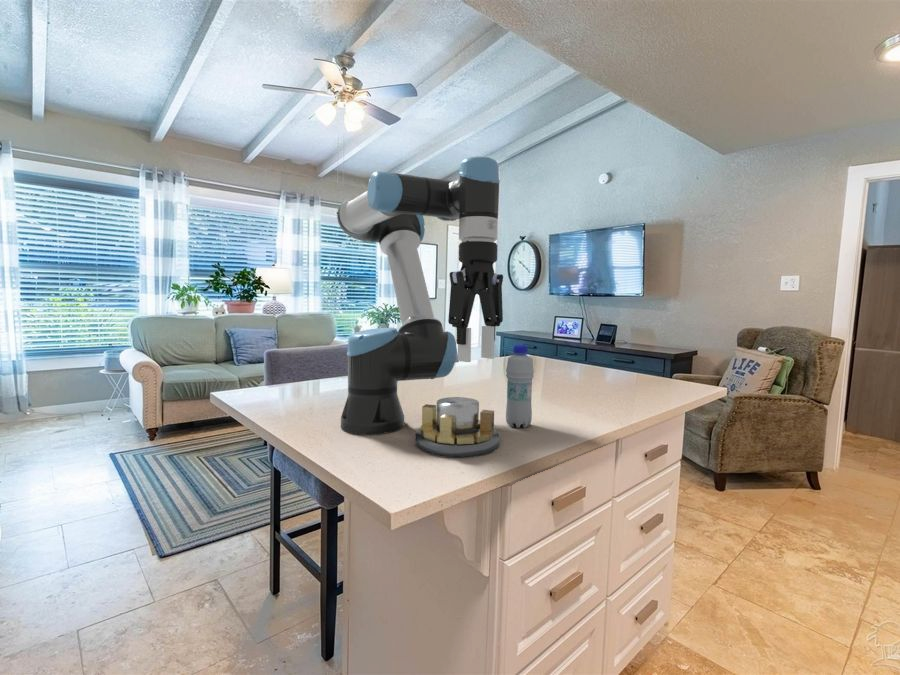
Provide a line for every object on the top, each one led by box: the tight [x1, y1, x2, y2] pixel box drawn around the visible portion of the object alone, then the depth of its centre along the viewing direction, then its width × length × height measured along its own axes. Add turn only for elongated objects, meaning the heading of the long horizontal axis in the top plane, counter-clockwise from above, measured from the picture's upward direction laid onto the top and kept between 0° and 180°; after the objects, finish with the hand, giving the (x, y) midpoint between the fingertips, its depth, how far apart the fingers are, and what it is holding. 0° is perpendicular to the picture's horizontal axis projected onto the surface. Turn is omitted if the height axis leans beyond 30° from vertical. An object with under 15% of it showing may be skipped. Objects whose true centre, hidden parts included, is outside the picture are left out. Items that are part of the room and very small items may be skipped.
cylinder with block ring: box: [420, 404, 495, 444], centre depth 97 cm, size 15×15×5 cm
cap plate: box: [414, 396, 500, 459], centre depth 97 cm, size 18×18×9 cm
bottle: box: [505, 344, 535, 429], centre depth 110 cm, size 7×7×20 cm
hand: (476, 359), depth 90 cm, fingers open, 6 cm apart
